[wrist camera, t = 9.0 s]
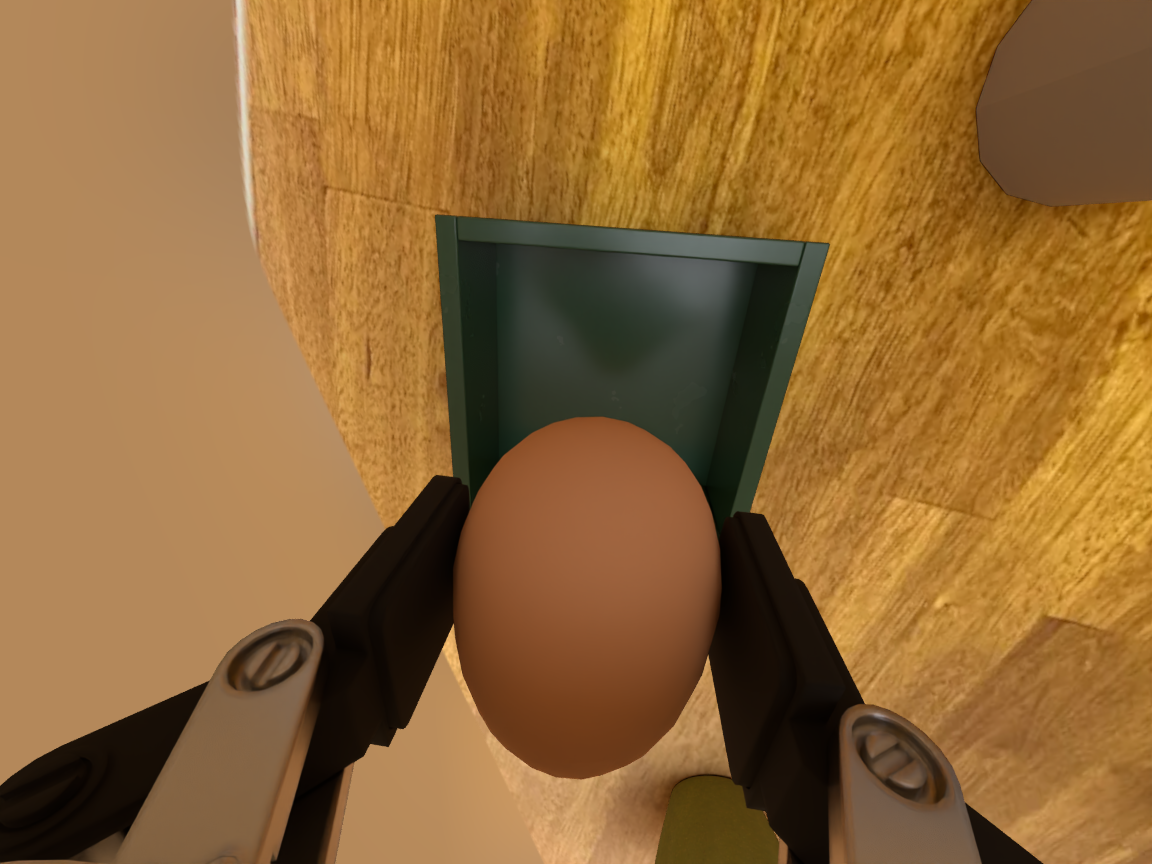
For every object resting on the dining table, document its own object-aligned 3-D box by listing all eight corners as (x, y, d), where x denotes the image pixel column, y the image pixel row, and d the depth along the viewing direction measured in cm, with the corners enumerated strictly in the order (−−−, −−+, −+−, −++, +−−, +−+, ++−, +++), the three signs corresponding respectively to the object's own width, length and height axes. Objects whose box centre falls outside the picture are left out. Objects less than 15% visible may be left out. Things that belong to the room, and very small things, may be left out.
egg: (621, 337, 12) (607, 531, 4) (729, 486, 13) (862, 824, 6) (473, 444, 14) (281, 708, 6) (582, 562, 15) (537, 887, 8)
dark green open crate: (489, 466, 26) (455, 523, 21) (483, 218, 20) (434, 214, 15) (714, 492, 25) (736, 559, 20) (777, 240, 19) (831, 243, 14)
